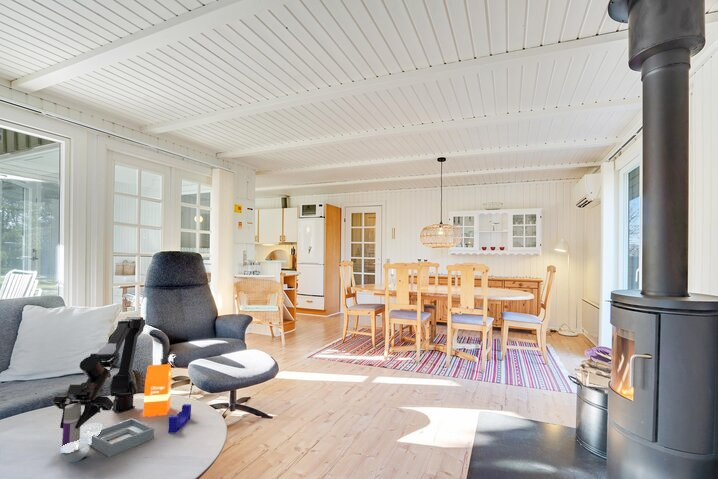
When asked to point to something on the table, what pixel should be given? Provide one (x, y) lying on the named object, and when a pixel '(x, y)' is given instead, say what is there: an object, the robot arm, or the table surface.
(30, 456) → the table surface
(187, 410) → the cable clip
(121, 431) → the walled box
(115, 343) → the robot arm
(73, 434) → the container
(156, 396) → the orange juice
